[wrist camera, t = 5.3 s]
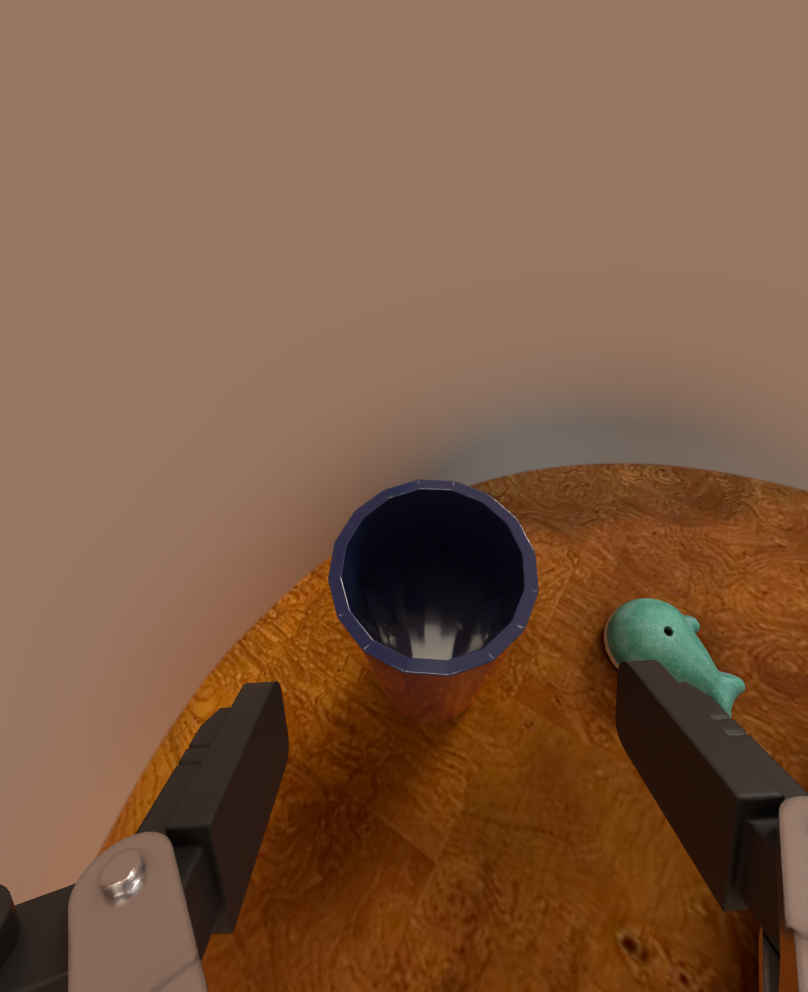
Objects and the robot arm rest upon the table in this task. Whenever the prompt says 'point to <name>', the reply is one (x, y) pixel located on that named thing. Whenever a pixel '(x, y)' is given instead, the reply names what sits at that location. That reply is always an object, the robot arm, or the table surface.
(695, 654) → the whale figurine
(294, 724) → the table surface
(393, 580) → the cup
